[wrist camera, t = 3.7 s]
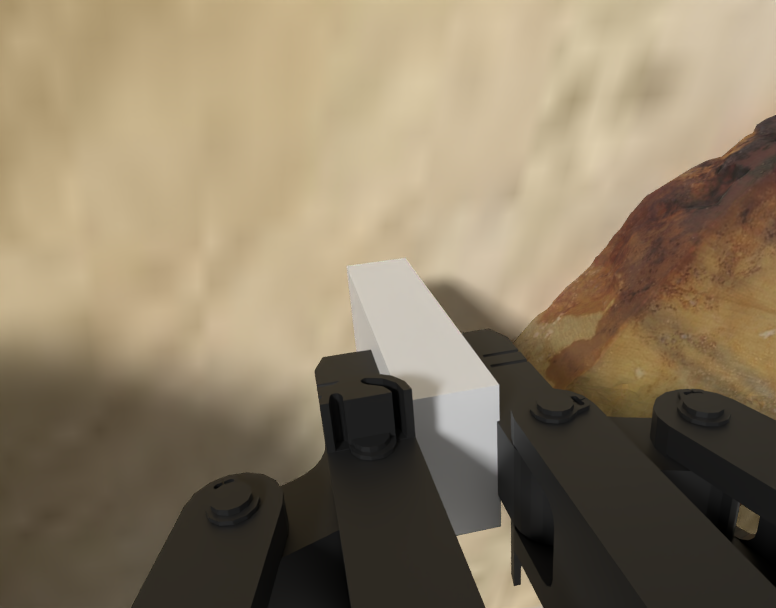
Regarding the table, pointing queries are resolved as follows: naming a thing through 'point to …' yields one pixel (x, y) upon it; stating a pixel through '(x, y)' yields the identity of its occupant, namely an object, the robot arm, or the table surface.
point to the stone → (676, 294)
